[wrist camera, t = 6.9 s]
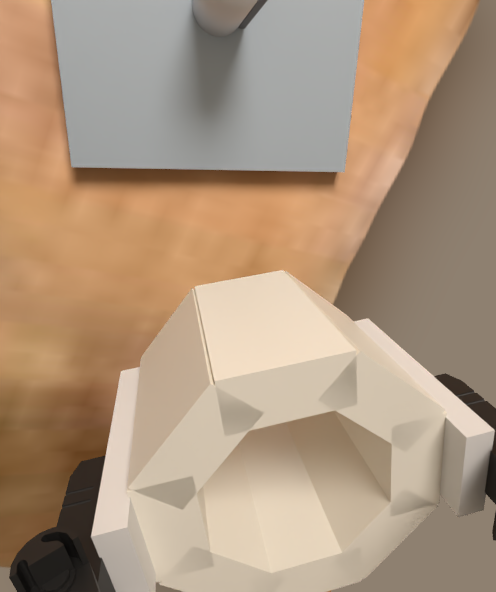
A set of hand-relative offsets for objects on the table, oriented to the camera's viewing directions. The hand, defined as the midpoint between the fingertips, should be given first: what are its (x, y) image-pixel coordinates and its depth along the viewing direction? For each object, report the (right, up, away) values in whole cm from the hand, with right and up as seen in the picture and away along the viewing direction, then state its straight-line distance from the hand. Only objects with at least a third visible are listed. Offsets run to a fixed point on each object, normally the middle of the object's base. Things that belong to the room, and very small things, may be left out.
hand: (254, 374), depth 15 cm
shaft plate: (-2, +20, +9) cm, 22 cm away
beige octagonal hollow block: (0, -1, +1) cm, 1 cm away
